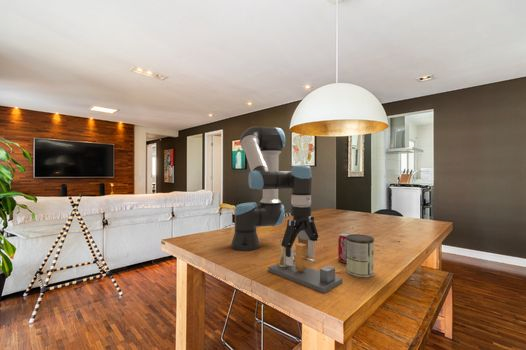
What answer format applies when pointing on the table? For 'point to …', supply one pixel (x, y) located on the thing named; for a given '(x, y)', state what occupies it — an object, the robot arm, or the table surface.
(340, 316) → the table surface
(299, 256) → the wooden handled lever
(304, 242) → the coffee cup
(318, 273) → the board
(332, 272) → the block
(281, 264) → the brass round knobbed piece
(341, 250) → the soda can
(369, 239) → the coffee can
